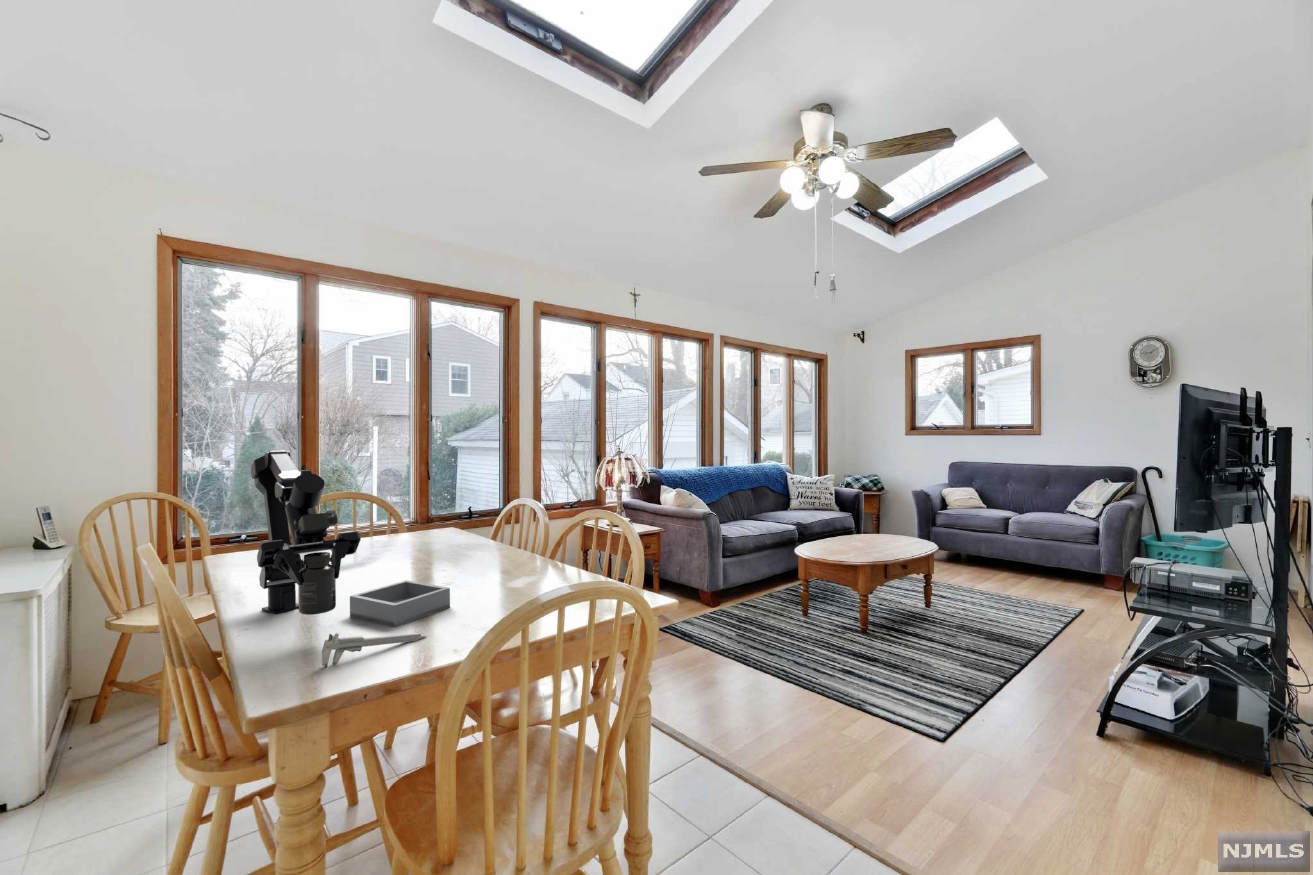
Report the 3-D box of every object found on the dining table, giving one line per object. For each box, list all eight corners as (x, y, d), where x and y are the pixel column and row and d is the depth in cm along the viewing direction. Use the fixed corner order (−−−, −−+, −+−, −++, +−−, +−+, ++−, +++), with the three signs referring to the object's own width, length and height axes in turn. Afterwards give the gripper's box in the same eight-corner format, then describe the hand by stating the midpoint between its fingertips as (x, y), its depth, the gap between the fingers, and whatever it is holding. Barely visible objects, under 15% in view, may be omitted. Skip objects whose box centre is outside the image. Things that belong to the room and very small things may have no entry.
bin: (350, 616, 137) (349, 596, 137) (406, 599, 151) (406, 580, 151) (394, 627, 130) (394, 605, 130) (450, 607, 144) (449, 587, 144)
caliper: (324, 669, 108) (324, 636, 108) (321, 668, 108) (321, 635, 108) (426, 638, 123) (426, 609, 123) (423, 637, 124) (423, 608, 124)
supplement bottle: (342, 608, 122) (342, 552, 122) (309, 617, 116) (308, 559, 116) (325, 603, 126) (324, 549, 125) (292, 612, 120) (291, 555, 120)
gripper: (259, 503, 117) (273, 566, 109) (357, 495, 130) (375, 551, 122) (251, 535, 122) (264, 598, 115) (346, 525, 136) (363, 580, 128)
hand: (319, 580), depth 120 cm, fingers closed on supplement bottle, 7 cm apart
